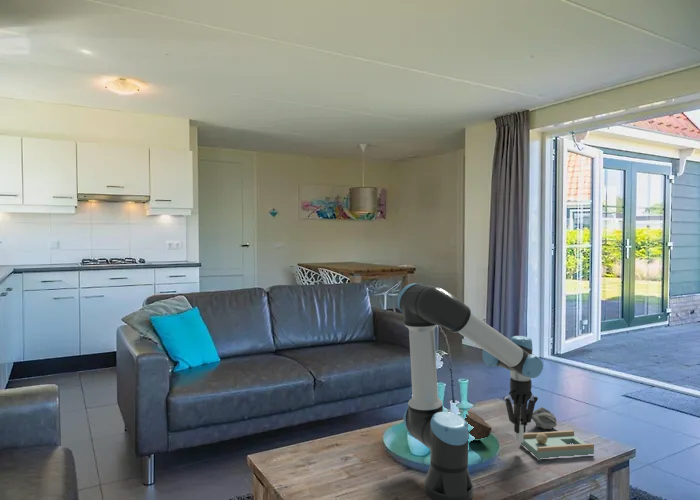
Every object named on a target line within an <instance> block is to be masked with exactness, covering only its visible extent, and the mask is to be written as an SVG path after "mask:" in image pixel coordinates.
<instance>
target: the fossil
mask: <svg viewBox="0 0 700 500" xmlns="http://www.w3.org/2000/svg"><path fill="white" fill-rule="evenodd" d="M531 420H532V421H533V422H534V423H535V427H537V426H538V427H537V428H539V427H541V428H540V429H543V430H545V429H550V430H553V429H554V428H556V427H557V425H558V424H557V418H556V416H555V414H554V413H552V412H551V411H550V410H548V409H547V408H545V407H543V406H542V407H539V408H537V409H536V410H534V411H533V415H532V419H531ZM552 428H553V429H552Z"/></svg>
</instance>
